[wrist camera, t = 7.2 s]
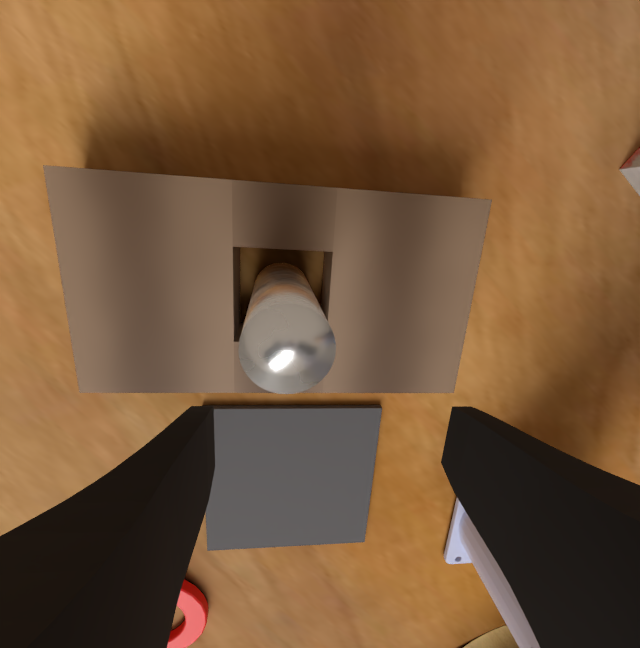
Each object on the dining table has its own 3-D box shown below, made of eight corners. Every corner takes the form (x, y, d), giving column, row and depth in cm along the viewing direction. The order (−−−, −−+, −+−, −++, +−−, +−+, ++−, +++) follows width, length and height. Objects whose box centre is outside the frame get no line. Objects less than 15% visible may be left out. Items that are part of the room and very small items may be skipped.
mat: (380, 404, 22) (381, 408, 22) (363, 537, 25) (364, 542, 25) (202, 405, 21) (201, 409, 20) (208, 545, 24) (207, 550, 24)
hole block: (459, 201, 19) (492, 199, 16) (430, 369, 22) (453, 393, 19) (83, 173, 16) (43, 165, 14) (108, 366, 19) (79, 392, 17)
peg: (309, 263, 19) (338, 304, 10) (307, 315, 20) (333, 392, 11) (253, 261, 19) (236, 302, 10) (254, 315, 19) (239, 395, 11)
